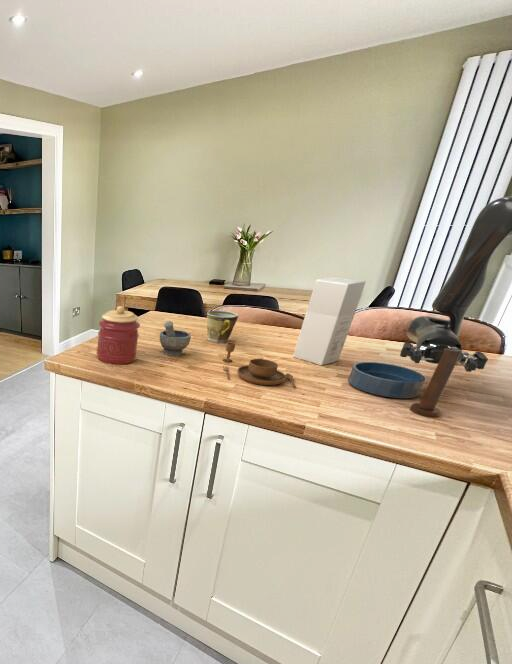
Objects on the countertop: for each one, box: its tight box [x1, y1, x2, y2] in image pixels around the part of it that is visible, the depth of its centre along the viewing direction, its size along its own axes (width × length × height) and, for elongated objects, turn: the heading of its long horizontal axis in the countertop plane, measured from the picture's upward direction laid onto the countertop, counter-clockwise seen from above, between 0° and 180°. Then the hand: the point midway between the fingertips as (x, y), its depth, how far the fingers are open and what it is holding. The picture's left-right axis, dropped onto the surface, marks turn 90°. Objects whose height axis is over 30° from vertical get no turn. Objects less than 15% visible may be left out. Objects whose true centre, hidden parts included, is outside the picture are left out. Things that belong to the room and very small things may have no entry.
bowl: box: [347, 361, 426, 399], centre depth 106 cm, size 14×14×5 cm
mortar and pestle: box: [159, 320, 192, 357], centre depth 134 cm, size 11×9×12 cm
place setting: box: [222, 341, 296, 388], centre depth 118 cm, size 18×20×6 cm
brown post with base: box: [409, 348, 463, 418], centre depth 92 cm, size 5×5×16 cm
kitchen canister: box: [96, 305, 141, 365], centre depth 131 cm, size 13×13×18 cm
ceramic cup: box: [206, 310, 239, 344], centre depth 144 cm, size 13×10×10 cm
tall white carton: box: [292, 276, 367, 366], centre depth 123 cm, size 9×9×25 cm
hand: (444, 363), depth 93 cm, fingers open, 8 cm apart
